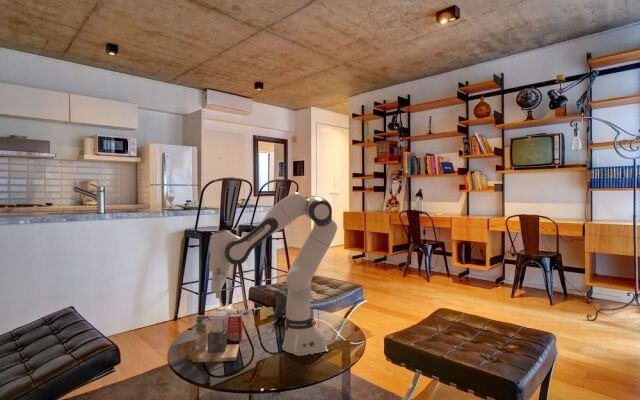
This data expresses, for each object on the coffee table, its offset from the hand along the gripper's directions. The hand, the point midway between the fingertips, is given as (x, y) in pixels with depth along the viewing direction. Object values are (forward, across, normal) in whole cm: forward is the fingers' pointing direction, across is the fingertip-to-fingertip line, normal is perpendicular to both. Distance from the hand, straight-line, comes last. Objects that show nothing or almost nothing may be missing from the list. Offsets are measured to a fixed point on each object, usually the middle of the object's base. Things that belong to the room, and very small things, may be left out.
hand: (218, 297), depth 163 cm
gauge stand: (+25, -2, 0) cm, 25 cm away
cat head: (+25, +29, -1) cm, 38 cm away
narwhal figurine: (+24, +46, -29) cm, 60 cm away
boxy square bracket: (+17, 0, +2) cm, 17 cm away
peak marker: (+10, -3, +7) cm, 13 cm away
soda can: (+25, +15, -7) cm, 30 cm away
